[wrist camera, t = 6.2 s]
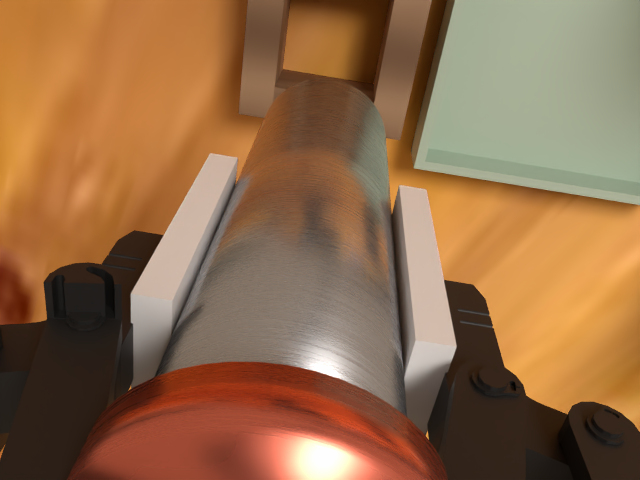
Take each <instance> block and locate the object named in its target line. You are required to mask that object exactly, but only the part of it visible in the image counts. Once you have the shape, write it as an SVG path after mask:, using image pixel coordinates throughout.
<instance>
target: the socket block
mask: <svg viewBox="0 0 640 480" xmlns="http://www.w3.org/2000/svg"><path fill="white" fill-rule="evenodd" d="M431 2H432V0H390V1H389V6H388V11H387V16H386V22H385V27H384V32H383V37H382V42H381V47H380V53H379V58H378V63H377V68H376V73H375V78H374V84H369V83H363V82H357V81H350V80H344V79H338V78H332V77H326V76H320V75H314V74H308V73H302V72H296V71H290V70H284V69H282V68H283V60H284V51H285V42H286V34H287V25H288V16H289V8H290V0H248V5H247V17H246V29H245V42H244V54H243V66H242V78H241V91H240V103H239V114H242V115H249V116H255V117H261V118H264V117H265V115H266V113H267V111H268V109H269V107H270V106H271V104H272V103H273V101H274V100H275V99H276V98H277V97H278V96H279V95H280V94H281V93H282V92H284V91H285V90H286V89H288V88H290V87H291V86H293V85H295V84H297V83H300V82H303V81H306V80H311V79H324V78H325V79H334V80H338V81H342V82H345V83H347V84H350V85H352V86H353V87H355V88H357V89H358V90H360V91H361V92H363V93H364V94H365V95H366V96H367V97H368V98H369V99H370V100H371V101H372V102H373V104H374V105H375V106H376V108H377V110H378V111H379V113H380V115H381V118H382V120H383V124H384V127H385V135H386V138H390V139H396V140H400V138H401V134H402V129H403V125H404V121H405V116H406V112H407V107H408V103H409V99H410V94H411V90H412V85H413V81H414V77H415V72H416V68H417V63H418V59H419V55H420V50H421V46H422V41H423V37H424V33H425V28H426V24H427V19H428V15H429V11H430V6H431Z"/></svg>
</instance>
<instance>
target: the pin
mask: <svg viewBox="0 0 640 480" xmlns="http://www.w3.org/2000/svg"><path fill="white" fill-rule="evenodd" d="M67 480H448V476H447V473H446V470H445V467H444V464H443V462H442V461H441V459H440V457H439V455H438V453H437V451H436V449H435V448H434V447H433V445H432V444H431V443H430V441H429V440H428V439H427V437H426V436H425V435H424V433H423V432H422V431H421V430H420V429H419V428H418V427H417V426H416V425H415V424H414V423H413V422H412V421H411V420H410V419H409V418H407V408H406V395H405V382H404V369H403V356H402V343H401V330H400V317H399V304H398V291H397V278H396V265H395V252H394V239H393V226H392V213H391V200H390V187H389V174H388V161H387V148H386V135H385V127H384V124H383V120H382V118H381V115H380V113H379V111H378V110H377V108H376V106H375V105H374V104H373V102H372V101H371V100H370V99H369V98H368V97H367V96H366V95H365V94H364V93H363V92H361V91H360V90H358V89H357V88H355V87H353V86H352V85H350V84H347V83H345V82H342V81H338V80H334V79H325V78H324V79H311V80H306V81H303V82H300V83H297V84H295V85H293V86H291V87H290V88H288V89H286V90H285V91H284V92H282V93H281V94H280V95H279V96H278V97H277V98H276V99H275V100H274V101H273V103H272V104H271V106H270V107H269V109H268V111H267V113H266V115H265V117H264V120H263V122H262V124H261V127H260V129H259V132H258V134H257V136H256V139H255V141H254V143H253V146H252V148H251V150H250V153H249V155H248V157H247V160H246V162H245V164H244V167H243V169H242V172H241V174H240V176H239V179H238V181H237V183H236V186H235V188H234V190H233V193H232V195H231V197H230V200H229V202H228V204H227V207H226V209H225V212H224V214H223V216H222V219H221V221H220V223H219V226H218V228H217V230H216V233H215V235H214V237H213V240H212V242H211V244H210V247H209V249H208V252H207V254H206V256H205V259H204V261H203V263H202V266H201V268H200V270H199V273H198V275H197V277H196V280H195V282H194V284H193V287H192V289H191V292H190V294H189V296H188V299H187V301H186V303H185V306H184V308H183V310H182V313H181V315H180V317H179V320H178V322H177V324H176V327H175V329H174V331H173V334H172V336H171V339H170V341H169V343H168V346H167V348H166V350H165V353H164V355H163V357H162V360H161V362H160V364H159V367H158V369H157V371H156V374H155V376H154V378H152V379H150V380H147V381H145V382H143V383H141V384H139V385H137V386H135V387H133V388H132V389H130V390H129V391H127V392H126V393H124V394H123V395H121V396H120V397H119V398H117V399H116V400H115V401H114V402H113V403H112V404H111V405H110V406H109V407H107V408H106V409H105V410H104V411H103V412H102V414H101V415H100V416H99V418H98V419H97V420H96V422H95V424H94V426H93V428H92V430H91V432H90V434H89V436H88V438H87V440H86V442H85V444H84V446H83V448H82V450H81V452H80V454H79V456H78V458H77V460H76V462H75V464H74V466H73V468H72V470H71V472H70V474H69V476H68V478H67Z"/></svg>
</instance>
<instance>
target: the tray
mask: <svg viewBox="0 0 640 480" xmlns="http://www.w3.org/2000/svg"><path fill="white" fill-rule="evenodd" d="M411 155H412V161H413V167H414V168H415V169H421V170H427V171H433V172H440V173H446V174H452V175H458V176H464V177H470V178H477V179H483V180H489V181H495V182H501V183H507V184H514V185H520V186H526V187H532V188H538V189H544V190H551V191H557V192H563V193H569V194H575V195H581V196H587V197H594V198H600V199H606V200H612V201H618V202H624V203H631V204H637V205H640V0H447V1H446V6H445V10H444V14H443V18H442V22H441V27H440V31H439V35H438V39H437V43H436V47H435V52H434V56H433V60H432V64H431V68H430V73H429V77H428V81H427V85H426V89H425V93H424V98H423V102H422V106H421V110H420V114H419V119H418V123H417V127H416V131H415V135H414V139H413V144H412V148H411Z"/></svg>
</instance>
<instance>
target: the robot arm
mask: <svg viewBox="0 0 640 480" xmlns="http://www.w3.org/2000/svg"><path fill="white" fill-rule="evenodd" d="M237 161H238V158H236V157H230V156H224V155H219V154H213V153H210V154H209V156H208V158H207V160H206V162H205V163H204V165H203V167H202V169H201V170H200V172H199V174H198V176H197V177H196V179H195V181H194V183H193V185H192V186H191V188H190V190H189V192H188V193H187V195H186V197H185V199H184V200H183V202H182V204H181V206H180V207H179V209H178V211H177V213H176V215H175V216H174V218H173V220H172V222H171V223H170V225H169V227H168V229H167V230H166V232H165V234H164V235H159V234H153V233H147V232H141V231H135V230H134V231H133V232H131V233H129V234H128V235H126V236H124V237H123V238H121V239H119V240H118V241H117V242H116V244H115V245H114V247H113V248H112V250H111V251H110V253H109V256H107V257H106V258H105V260H104V261H103V263H102V264H95V263H75V264H71V265H67V266H64V267H60V268H59V269H57V270H55V271H54V272H52V273H50V274H49V276H48V277H47V278H46V280H45V281H44V290H45V300H46V311H47V320H45V321H42V322H36V323H27V324H10V325H0V451H1V450H2V448H3V447H4V445H5V447H4V450H3V453H2V456H1V459H0V480H67V478H68V476H69V474H70V472H71V470H72V468H73V466H74V464H75V462H76V460H77V458H78V456H79V454H80V452H81V450H82V448H83V446H84V444H85V442H86V440H87V438H88V436H89V434H90V432H91V430H92V428H93V426H94V424H95V422H96V420H97V419H98V418H99V416H100V415H101V414H102V412H103V411H104V410H105V409H106V408H107V407H109V406H110V405H111V404H112V403H113V402H114V401H115V400H116V399H117V398H119V397H120V396H121V395H123V394H124V393H126V392H127V391H128V390H129V388H130V385H131V389H132V388H133V387H135V386H137V385H139V384H141V383H143V382H145V381H147V380H150V379H152V378H154V376H155V374H156V371H157V369H158V367H159V364H160V362H161V360H162V357H163V355H164V353H165V350H166V348H167V346H168V343H169V341H170V339H171V336H172V334H173V331H174V329H175V327H176V324H177V322H178V320H179V317H180V315H181V313H182V310H183V308H184V306H185V303H186V301H187V299H188V296H189V294H190V292H191V289H192V287H193V284H194V282H195V280H196V277H197V275H198V273H199V270H200V268H201V266H202V263H203V261H204V259H205V256H206V254H207V252H208V249H209V247H210V244H211V242H212V240H213V237H214V235H215V233H216V230H217V228H218V226H219V223H220V221H221V219H222V216H223V214H224V212H225V209H226V207H227V204H228V202H229V200H230V197H231V195H232V193H233V190H234V188H235V183H236V172H237ZM392 226H393V239H394V252H395V265H396V278H397V291H398V304H399V317H400V330H401V343H402V356H403V369H404V382H405V395H406V408H407V418H409V419H410V420H411V421H412V422H413V423H414V424H415V425H416V426H417V427H418V428H419V429H420V430H421V431H422V432H423V433H424V435H425V436H426V433H427V430H428V436H429V441H430V443H431V444H432V445H433V447H434V448H435V449H436V451H437V453H438V455H439V457H440V459H441V461H442V462H443V464H444V467H445V470H446V473H447V476H448V480H640V432H639V431H638V429H637V428H636V427H635V425H634V424H633V423H632V422H631V421H630V420H629V419H627V418H626V417H625V416H624V415H623V414H621V413H620V412H618V411H616V410H614V409H612V408H610V407H609V406H606V405H603V404H599V403H596V402H580V403H578V404H575V405H573V406H572V408H571V409H570V411H569V413H568V415H567V414H565V413H562V412H560V411H557V410H555V409H552V408H550V407H547V406H545V405H542V404H540V403H538V402H536V401H534V400H532V399H530V398H529V397H528V396H526V394H525V390H524V386H523V384H522V383H521V382H520V380H519V379H518V378H517V377H516V375H514V374H513V373H512V372H510V371H509V370H508V369H506V368H505V367H504V364H503V360H502V357H501V353H500V350H499V346H498V342H497V339H496V335H495V332H494V328H492V326H493V325H492V321H491V318H490V316H489V311H488V307H487V303H486V300H485V298H484V297H483V296H482V295H481V293H480V292H479V291H478V290H477V289H476V288H475V286H474V285H471V284H465V283H459V282H453V281H447V280H444V278H443V273H442V268H441V263H440V257H439V252H438V247H437V242H436V237H435V231H434V226H433V221H432V216H431V211H430V205H429V200H428V195H427V190H426V189H421V188H415V187H409V186H403V185H399V188H398V192H397V196H396V200H395V204H394V209H393V213H392Z"/></svg>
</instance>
